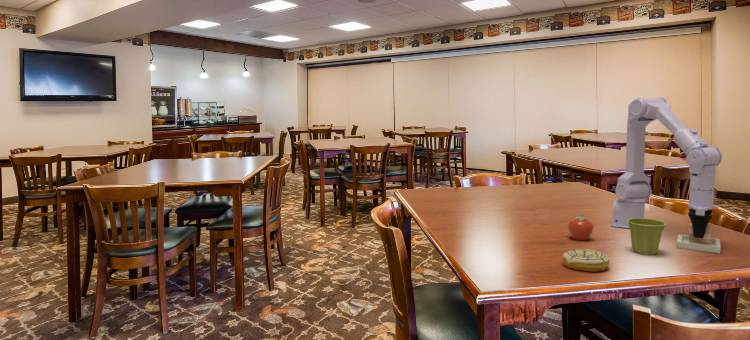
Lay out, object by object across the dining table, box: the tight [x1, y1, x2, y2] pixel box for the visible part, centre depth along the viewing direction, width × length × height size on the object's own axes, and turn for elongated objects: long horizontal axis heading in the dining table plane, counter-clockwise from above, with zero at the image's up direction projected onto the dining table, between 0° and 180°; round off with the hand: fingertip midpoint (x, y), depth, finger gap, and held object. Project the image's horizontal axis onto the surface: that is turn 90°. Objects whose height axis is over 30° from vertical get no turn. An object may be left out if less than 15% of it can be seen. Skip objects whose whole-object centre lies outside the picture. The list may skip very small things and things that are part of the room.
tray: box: [676, 233, 722, 254], centre depth 131 cm, size 10×10×2 cm
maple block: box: [688, 221, 712, 245], centre depth 131 cm, size 5×5×5 cm
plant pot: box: [627, 217, 667, 256], centre depth 127 cm, size 9×9×9 cm
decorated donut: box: [562, 248, 610, 273], centre depth 116 cm, size 10×11×4 cm
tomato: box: [567, 213, 595, 241], centre depth 141 cm, size 7×7×8 cm
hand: (698, 235), depth 131 cm, fingers closed on maple block, 5 cm apart
